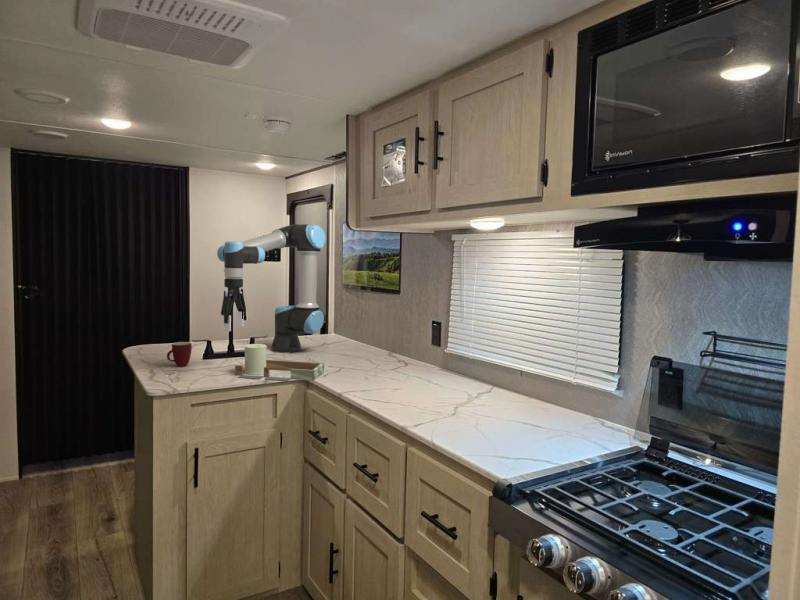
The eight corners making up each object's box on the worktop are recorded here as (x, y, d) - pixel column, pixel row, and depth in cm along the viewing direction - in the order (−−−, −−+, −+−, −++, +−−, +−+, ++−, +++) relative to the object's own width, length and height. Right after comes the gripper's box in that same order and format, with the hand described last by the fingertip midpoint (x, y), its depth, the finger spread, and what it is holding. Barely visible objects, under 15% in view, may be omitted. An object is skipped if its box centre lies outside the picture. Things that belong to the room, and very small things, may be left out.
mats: (241, 375, 223) (241, 374, 223) (290, 378, 220) (290, 378, 220) (237, 377, 219) (237, 377, 219) (287, 381, 216) (287, 380, 216)
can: (253, 376, 223) (253, 347, 222) (239, 372, 228) (239, 344, 227) (271, 372, 230) (271, 344, 229) (257, 368, 236) (257, 341, 235)
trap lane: (249, 367, 237) (249, 358, 237) (323, 372, 232) (323, 363, 232) (235, 375, 223) (235, 365, 223) (314, 380, 219) (314, 370, 218)
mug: (173, 369, 229) (173, 346, 228) (163, 366, 234) (162, 344, 233) (195, 365, 238) (195, 343, 237) (184, 362, 243) (184, 341, 242)
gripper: (237, 276, 239) (237, 324, 241) (211, 279, 215) (212, 332, 217) (253, 276, 238) (253, 325, 240) (229, 280, 214) (229, 333, 216)
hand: (233, 328), depth 229 cm, fingers open, 12 cm apart
